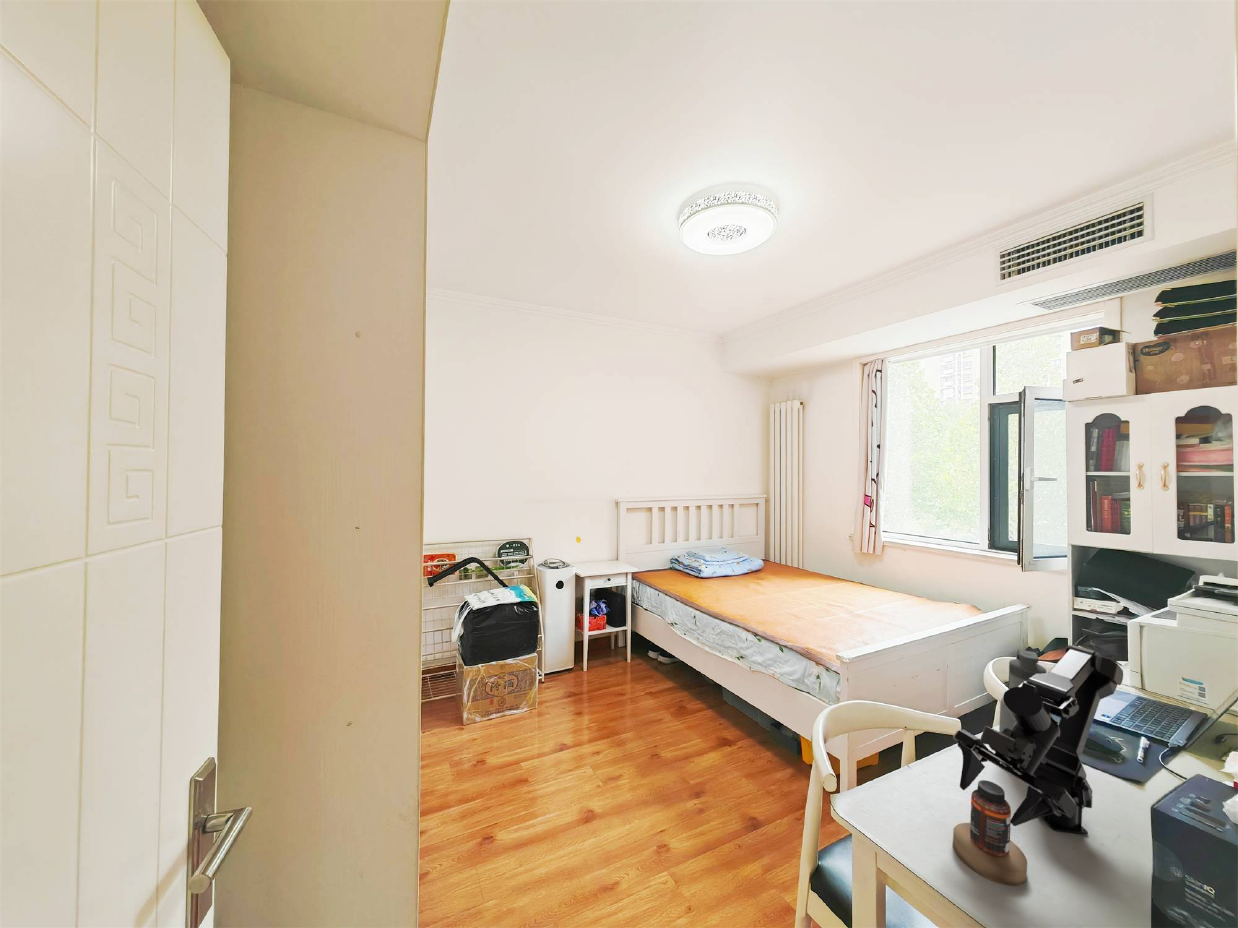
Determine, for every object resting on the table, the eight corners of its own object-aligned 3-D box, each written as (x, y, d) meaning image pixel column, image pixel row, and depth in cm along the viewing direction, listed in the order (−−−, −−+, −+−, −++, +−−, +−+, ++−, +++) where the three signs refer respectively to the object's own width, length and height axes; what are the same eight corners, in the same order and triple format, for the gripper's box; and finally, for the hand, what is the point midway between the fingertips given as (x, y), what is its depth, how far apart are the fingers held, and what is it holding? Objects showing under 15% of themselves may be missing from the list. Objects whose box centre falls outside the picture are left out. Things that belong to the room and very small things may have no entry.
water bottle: (996, 745, 124) (1001, 641, 123) (1045, 759, 118) (1050, 651, 118) (999, 765, 116) (1004, 654, 115) (1052, 782, 110) (1058, 665, 109)
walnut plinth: (1001, 838, 93) (1001, 826, 93) (1042, 889, 82) (1043, 875, 82) (941, 831, 95) (941, 819, 95) (974, 879, 84) (974, 866, 84)
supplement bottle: (1018, 858, 86) (1020, 798, 85) (987, 859, 85) (989, 798, 85) (991, 832, 92) (993, 775, 91) (961, 832, 91) (964, 776, 91)
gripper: (961, 690, 98) (919, 749, 95) (1068, 744, 80) (1020, 819, 77) (987, 721, 100) (946, 780, 97) (1096, 780, 82) (1051, 855, 80)
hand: (985, 805), depth 88 cm, fingers open, 9 cm apart
